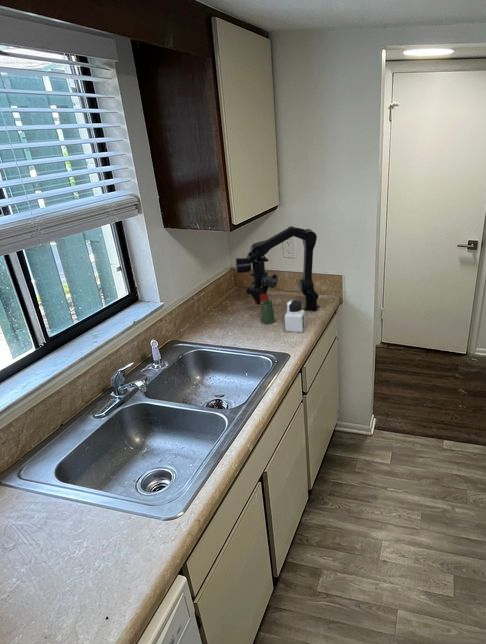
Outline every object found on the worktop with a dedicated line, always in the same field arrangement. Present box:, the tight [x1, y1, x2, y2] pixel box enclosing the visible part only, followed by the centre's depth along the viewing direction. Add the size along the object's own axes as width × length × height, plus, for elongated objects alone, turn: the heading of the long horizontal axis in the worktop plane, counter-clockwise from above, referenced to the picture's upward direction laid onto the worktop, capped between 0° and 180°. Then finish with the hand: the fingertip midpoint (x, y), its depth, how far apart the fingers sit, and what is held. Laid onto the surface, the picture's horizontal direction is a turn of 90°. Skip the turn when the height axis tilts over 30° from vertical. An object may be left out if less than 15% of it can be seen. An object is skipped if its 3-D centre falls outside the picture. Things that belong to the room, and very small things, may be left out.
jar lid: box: [253, 293, 270, 306], centre depth 209 cm, size 7×7×3 cm
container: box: [284, 299, 306, 333], centre depth 195 cm, size 8×8×13 cm
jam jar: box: [260, 300, 275, 325], centre depth 203 cm, size 6×6×10 cm
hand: (261, 301), depth 210 cm, fingers closed on jar lid, 6 cm apart
